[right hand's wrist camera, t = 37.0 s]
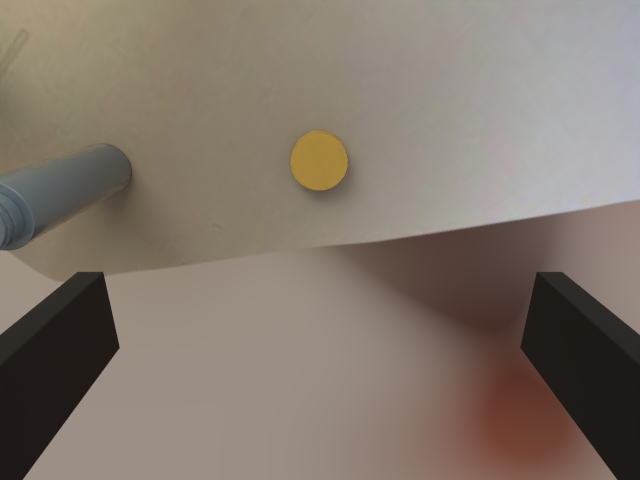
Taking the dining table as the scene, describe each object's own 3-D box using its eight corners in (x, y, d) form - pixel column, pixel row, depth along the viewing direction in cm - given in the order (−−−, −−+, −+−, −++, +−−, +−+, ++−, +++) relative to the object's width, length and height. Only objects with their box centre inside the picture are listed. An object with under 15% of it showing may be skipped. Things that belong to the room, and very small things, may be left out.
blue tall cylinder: (140, 184, 38) (29, 251, 24) (96, 197, 39) (-38, 271, 24) (118, 137, 37) (-15, 178, 22) (73, 151, 37) (-87, 200, 22)
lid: (292, 129, 36) (290, 131, 34) (348, 131, 36) (350, 134, 35) (291, 184, 38) (289, 189, 36) (344, 186, 38) (346, 191, 36)
